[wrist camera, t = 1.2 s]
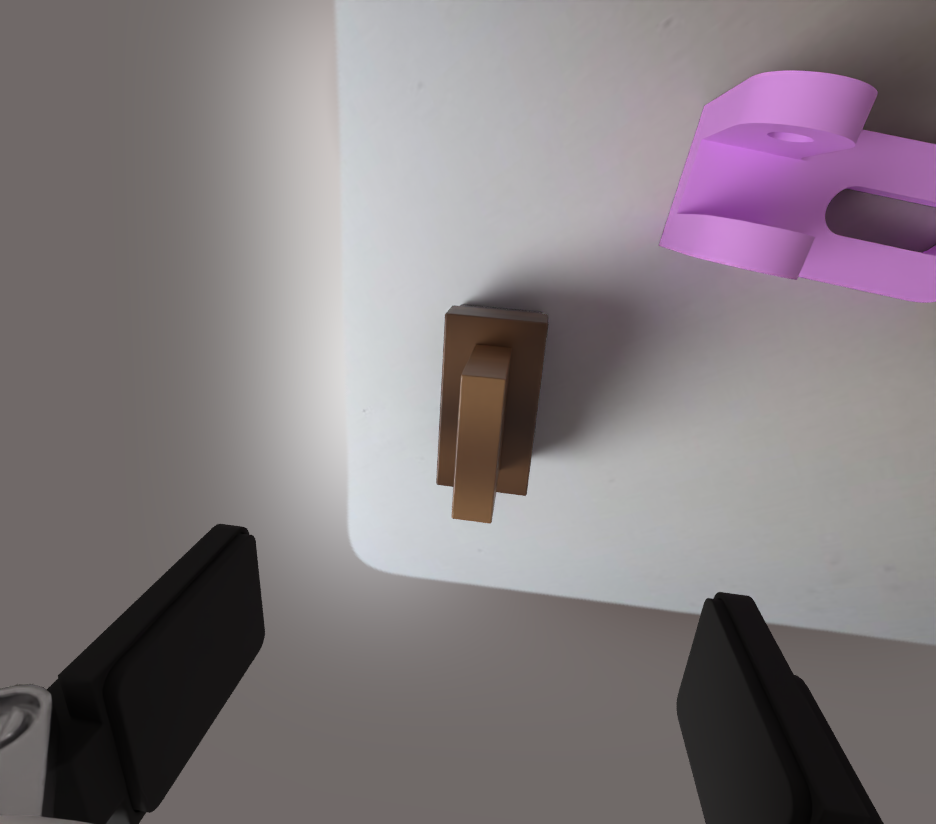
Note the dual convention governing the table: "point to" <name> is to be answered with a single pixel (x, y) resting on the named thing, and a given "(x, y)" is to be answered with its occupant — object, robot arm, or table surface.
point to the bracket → (799, 184)
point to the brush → (488, 404)
